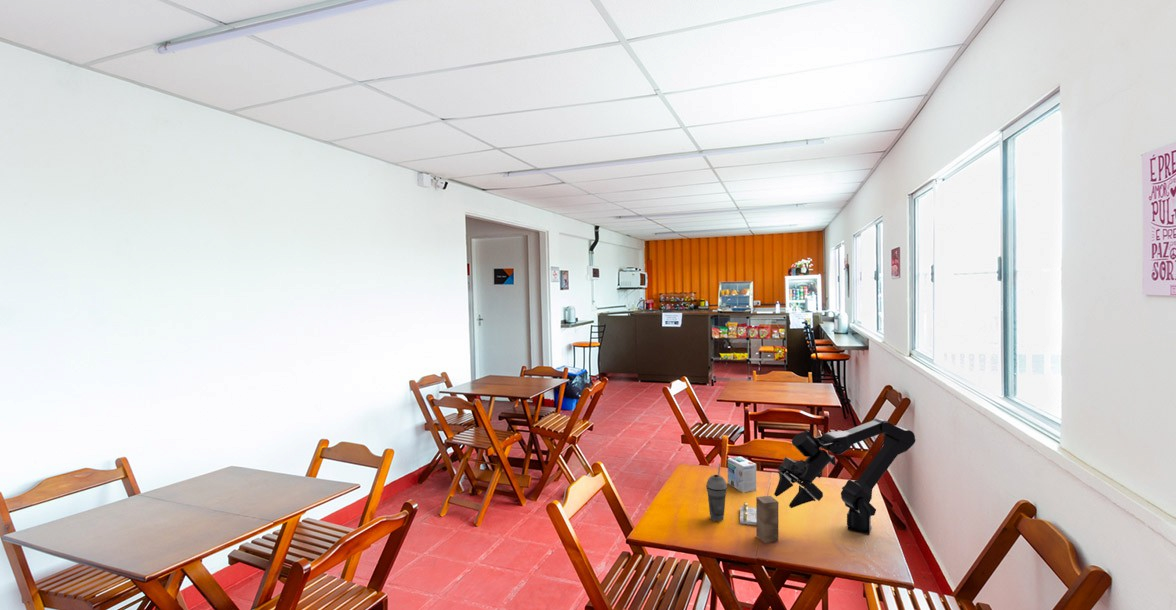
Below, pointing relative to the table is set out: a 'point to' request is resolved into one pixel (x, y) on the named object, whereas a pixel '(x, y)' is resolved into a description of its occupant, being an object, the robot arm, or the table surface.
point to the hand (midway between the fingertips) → (782, 501)
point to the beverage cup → (716, 496)
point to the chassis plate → (747, 515)
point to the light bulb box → (742, 474)
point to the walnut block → (767, 518)
